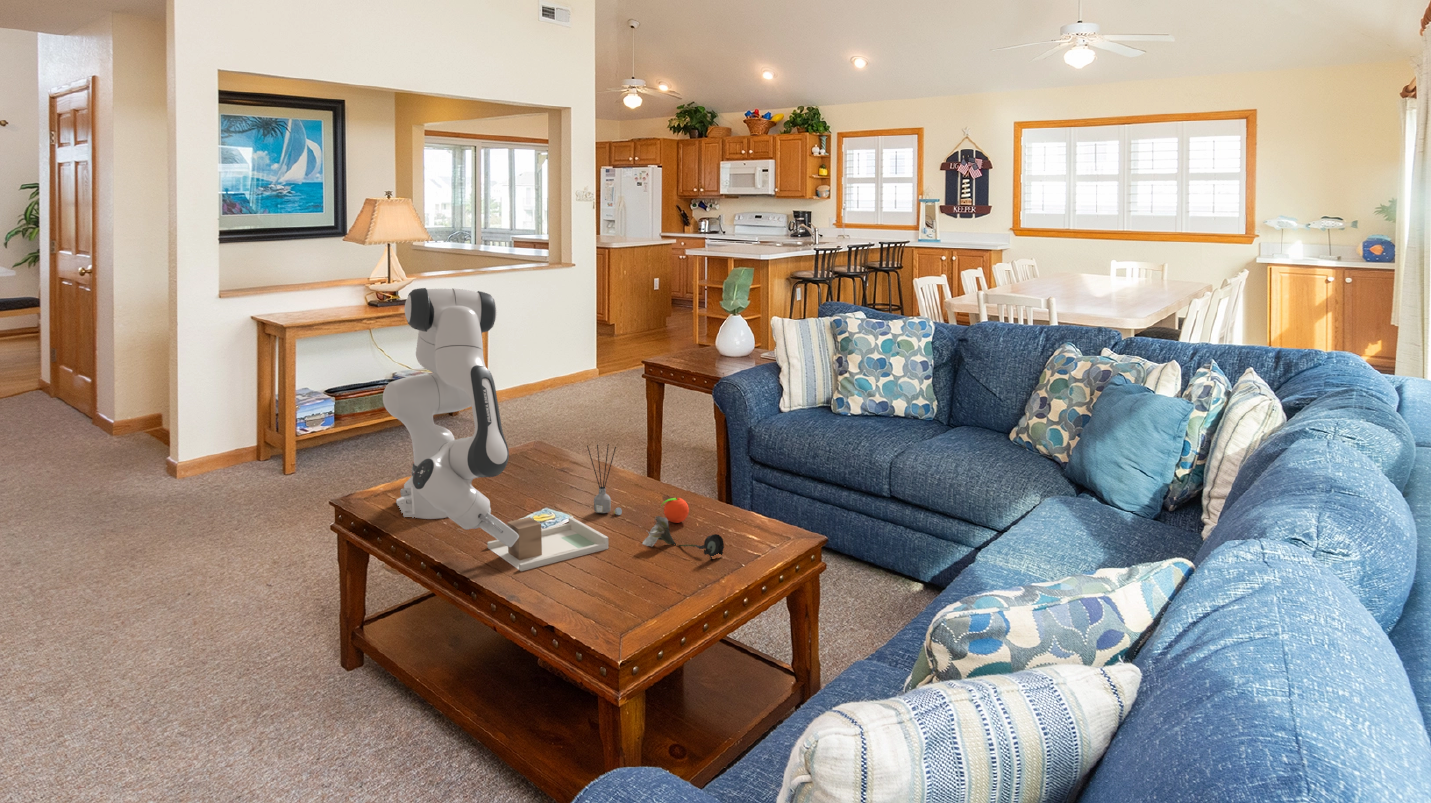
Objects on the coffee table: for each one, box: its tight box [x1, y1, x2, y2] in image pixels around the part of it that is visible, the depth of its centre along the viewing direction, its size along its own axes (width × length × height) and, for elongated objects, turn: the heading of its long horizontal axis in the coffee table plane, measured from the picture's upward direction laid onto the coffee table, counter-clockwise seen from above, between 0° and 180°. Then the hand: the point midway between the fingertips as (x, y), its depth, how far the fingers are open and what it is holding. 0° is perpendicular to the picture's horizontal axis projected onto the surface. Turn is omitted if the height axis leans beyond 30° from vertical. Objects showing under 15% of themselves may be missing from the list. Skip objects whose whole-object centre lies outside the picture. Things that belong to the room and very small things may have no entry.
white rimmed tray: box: [486, 516, 609, 572], centre depth 228 cm, size 18×24×4 cm
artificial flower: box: [642, 515, 725, 560], centre depth 232 cm, size 9×22×10 cm, turn 50°
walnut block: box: [506, 516, 542, 560], centre depth 223 cm, size 6×6×8 cm
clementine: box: [660, 497, 690, 524], centre depth 252 cm, size 8×7×7 cm
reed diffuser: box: [586, 443, 623, 516], centre depth 257 cm, size 10×7×20 cm
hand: (510, 540), depth 221 cm, fingers closed, pressing on walnut block
